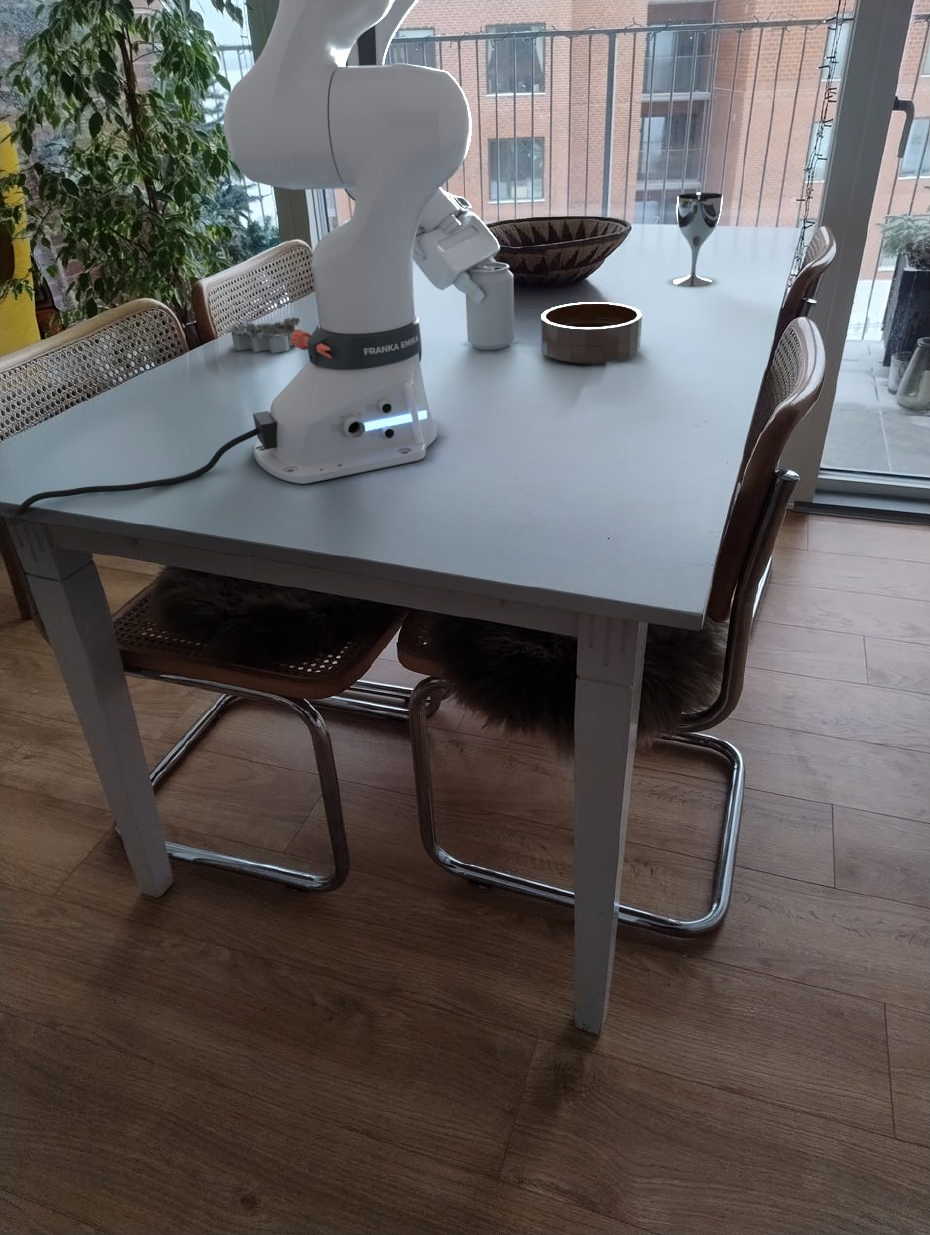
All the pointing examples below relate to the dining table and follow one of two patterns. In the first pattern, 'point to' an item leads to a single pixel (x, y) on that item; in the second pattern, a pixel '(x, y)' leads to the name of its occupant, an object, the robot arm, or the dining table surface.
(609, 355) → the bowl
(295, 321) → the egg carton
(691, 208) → the silver goblet
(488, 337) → the can
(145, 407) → the dining table surface
